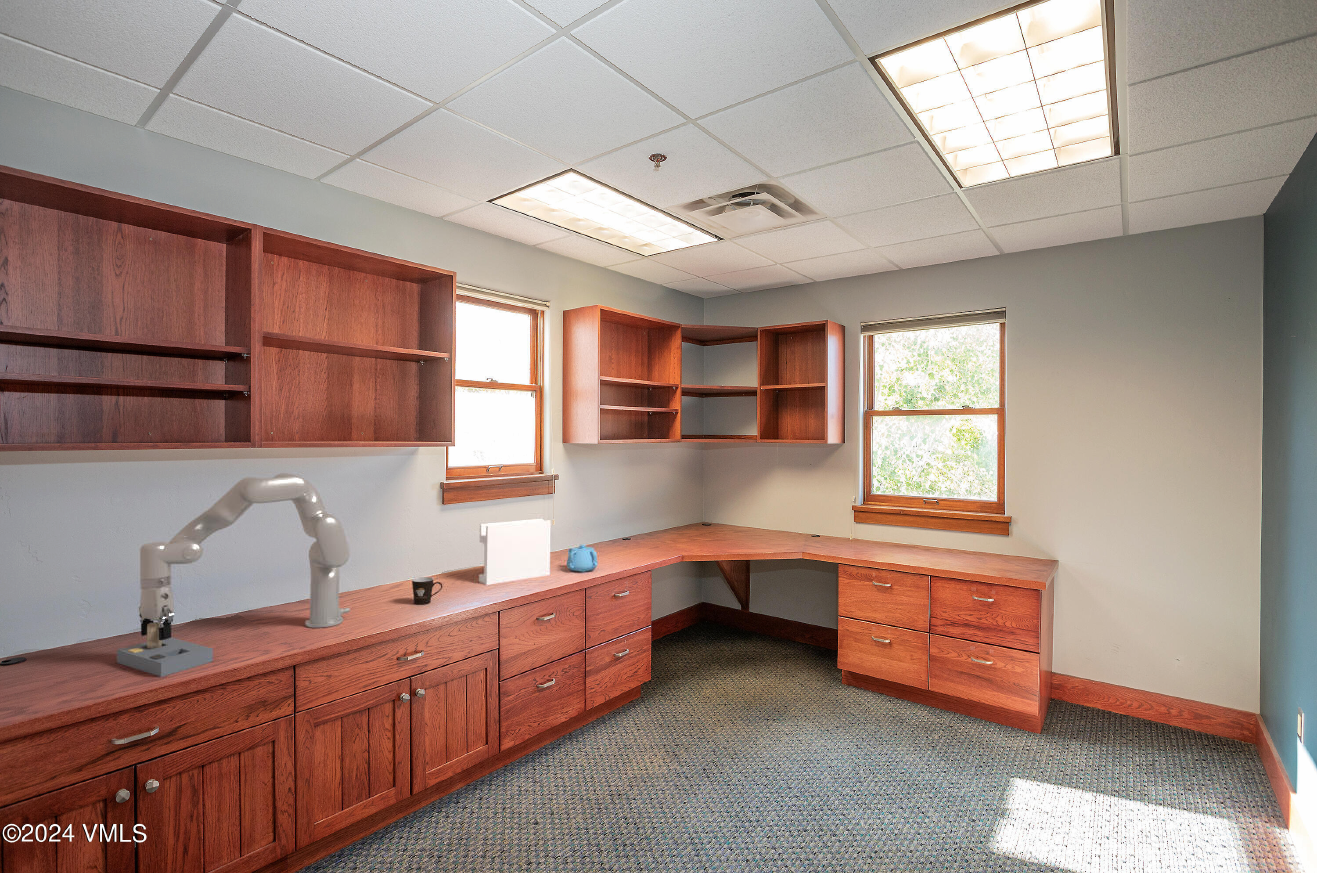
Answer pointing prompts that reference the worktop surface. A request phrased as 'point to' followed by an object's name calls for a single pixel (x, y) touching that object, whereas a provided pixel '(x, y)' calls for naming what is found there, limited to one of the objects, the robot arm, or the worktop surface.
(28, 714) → the worktop surface
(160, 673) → the socket block
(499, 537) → the block
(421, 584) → the coffee mug
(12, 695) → the worktop surface
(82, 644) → the worktop surface
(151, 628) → the plug
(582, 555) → the decorative pot
